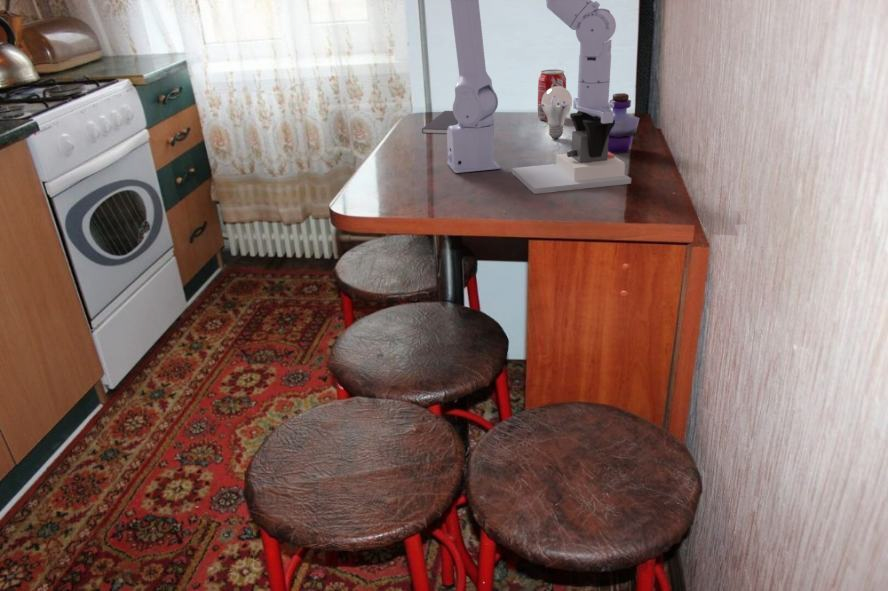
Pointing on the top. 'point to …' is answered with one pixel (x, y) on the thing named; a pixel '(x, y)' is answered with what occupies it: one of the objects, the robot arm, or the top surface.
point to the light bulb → (556, 109)
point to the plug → (584, 148)
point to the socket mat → (560, 179)
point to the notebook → (441, 123)
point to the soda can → (548, 86)
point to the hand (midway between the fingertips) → (590, 153)
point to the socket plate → (590, 167)
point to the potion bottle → (622, 125)
